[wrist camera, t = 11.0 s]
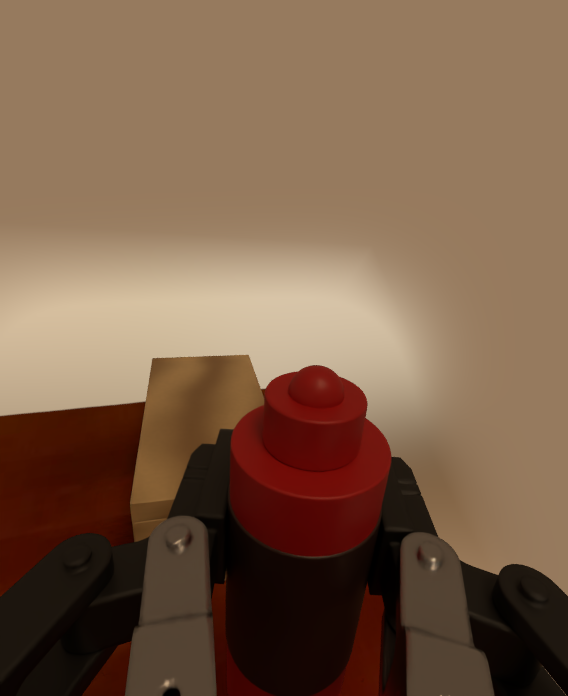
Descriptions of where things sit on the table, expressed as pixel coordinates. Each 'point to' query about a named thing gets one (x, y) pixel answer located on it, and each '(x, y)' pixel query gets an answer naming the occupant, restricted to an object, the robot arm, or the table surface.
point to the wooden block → (185, 425)
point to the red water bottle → (300, 534)
